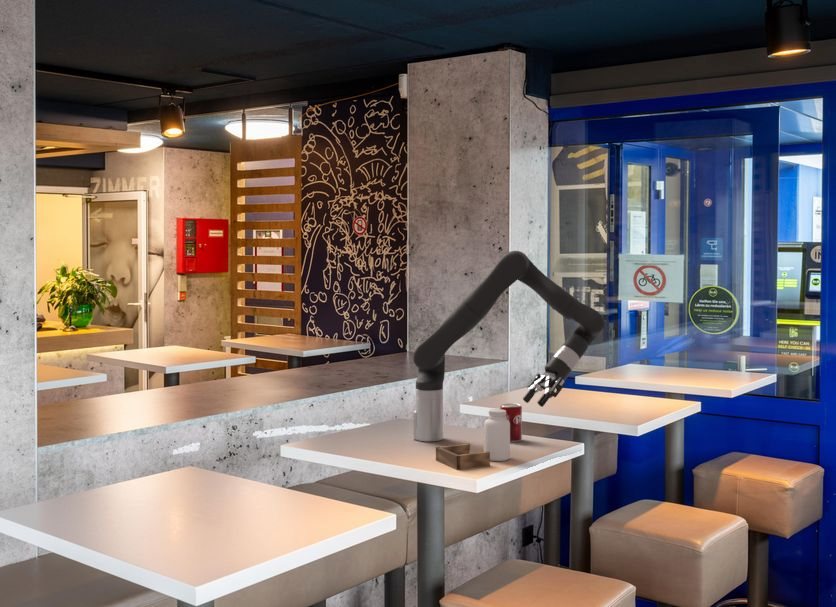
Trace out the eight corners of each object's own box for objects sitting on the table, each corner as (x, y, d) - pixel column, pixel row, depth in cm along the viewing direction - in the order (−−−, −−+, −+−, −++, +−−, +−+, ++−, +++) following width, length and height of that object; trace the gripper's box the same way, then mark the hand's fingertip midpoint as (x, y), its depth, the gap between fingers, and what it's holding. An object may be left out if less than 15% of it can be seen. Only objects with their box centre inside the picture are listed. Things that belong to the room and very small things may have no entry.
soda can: (521, 438, 310) (521, 403, 309) (521, 442, 303) (522, 407, 302) (500, 438, 311) (500, 403, 310) (499, 442, 303) (500, 406, 303)
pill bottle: (512, 456, 283) (512, 408, 282) (506, 462, 275) (506, 413, 274) (487, 455, 285) (487, 407, 284) (481, 460, 278) (481, 411, 277)
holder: (467, 456, 283) (467, 443, 283) (489, 465, 271) (489, 452, 271) (435, 460, 278) (435, 447, 278) (456, 469, 266) (456, 456, 266)
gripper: (542, 353, 294) (512, 392, 290) (568, 358, 281) (537, 398, 277) (556, 368, 296) (527, 407, 292) (582, 373, 284) (552, 414, 279)
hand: (532, 403), depth 284 cm, fingers open, 8 cm apart
